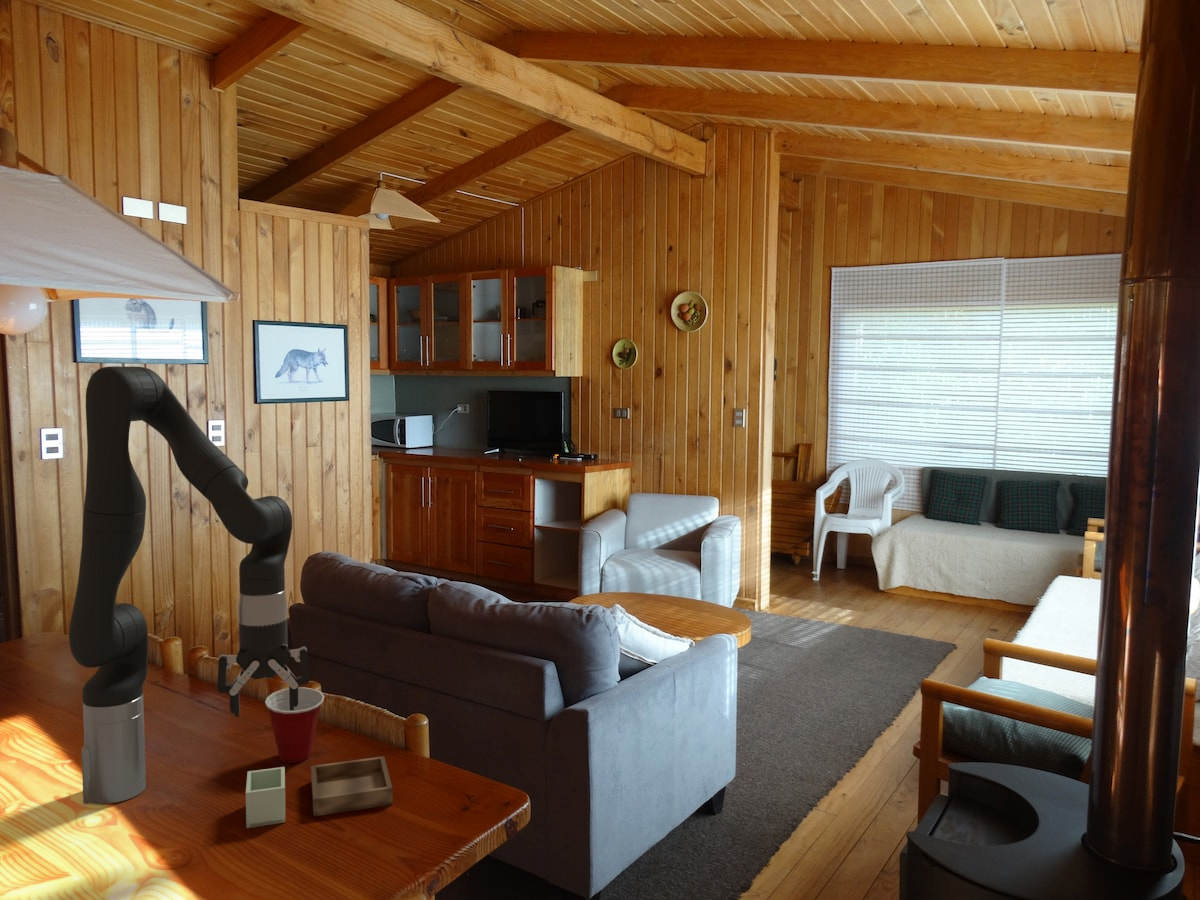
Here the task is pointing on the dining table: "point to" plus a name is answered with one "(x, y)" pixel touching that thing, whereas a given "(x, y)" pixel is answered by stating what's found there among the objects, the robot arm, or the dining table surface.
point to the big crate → (350, 786)
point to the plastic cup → (294, 722)
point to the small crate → (265, 797)
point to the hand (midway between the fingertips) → (264, 711)
